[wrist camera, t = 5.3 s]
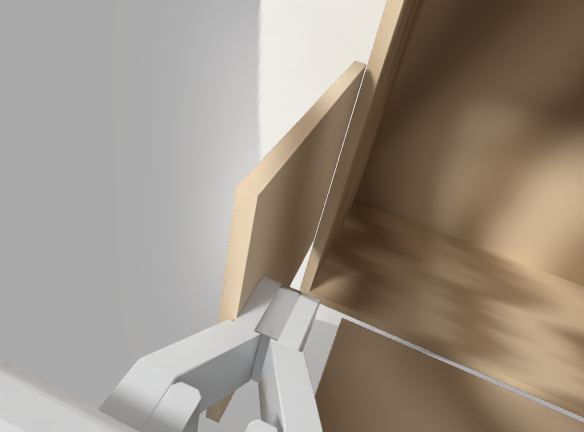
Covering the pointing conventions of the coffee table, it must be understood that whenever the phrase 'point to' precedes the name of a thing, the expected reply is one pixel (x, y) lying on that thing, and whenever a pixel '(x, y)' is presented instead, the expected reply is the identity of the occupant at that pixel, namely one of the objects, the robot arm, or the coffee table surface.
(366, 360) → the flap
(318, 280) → the open wooden box
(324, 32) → the coffee table surface
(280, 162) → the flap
